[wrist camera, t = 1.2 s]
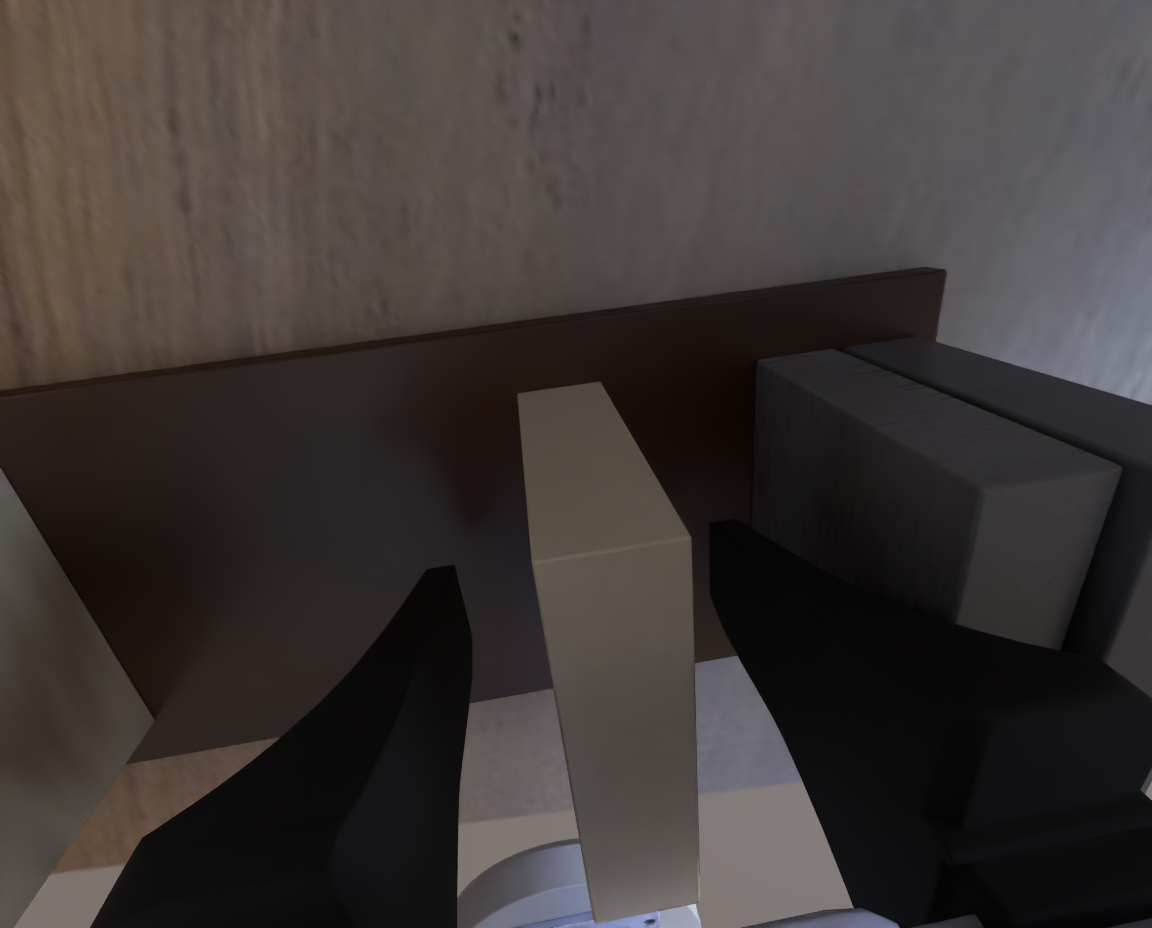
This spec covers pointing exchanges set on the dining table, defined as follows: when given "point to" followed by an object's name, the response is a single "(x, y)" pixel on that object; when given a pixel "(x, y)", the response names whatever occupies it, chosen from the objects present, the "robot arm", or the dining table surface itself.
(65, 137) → the dining table surface
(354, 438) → the book rack
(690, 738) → the beige flat block
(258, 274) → the dining table surface
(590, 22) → the dining table surface
